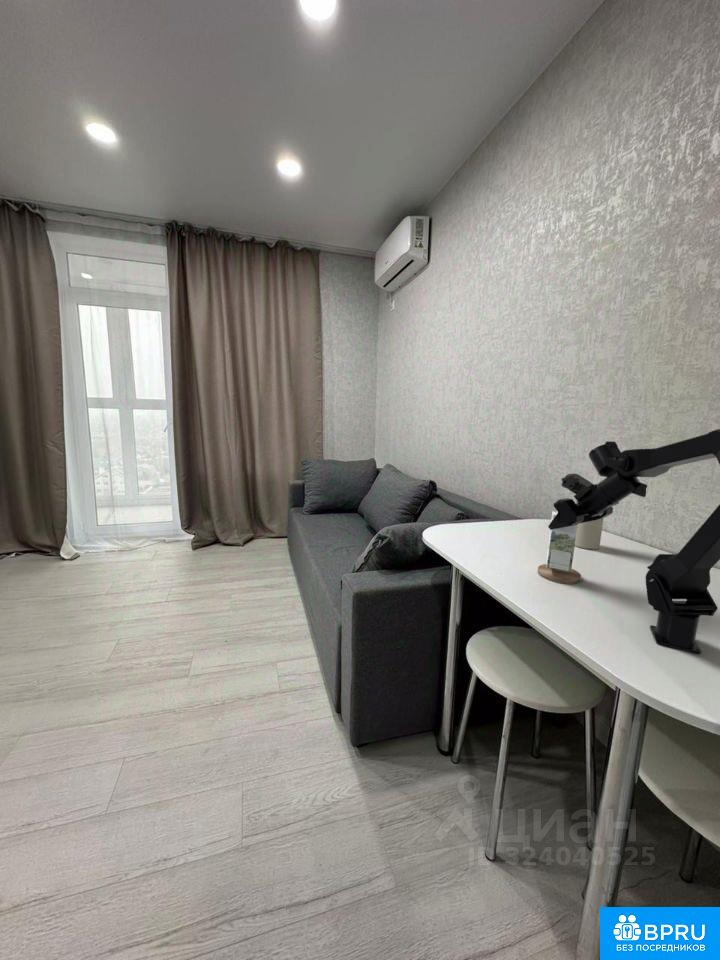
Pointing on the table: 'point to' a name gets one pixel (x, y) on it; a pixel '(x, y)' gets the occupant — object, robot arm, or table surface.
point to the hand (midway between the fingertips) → (557, 525)
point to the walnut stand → (559, 575)
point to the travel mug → (589, 534)
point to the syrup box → (561, 547)
